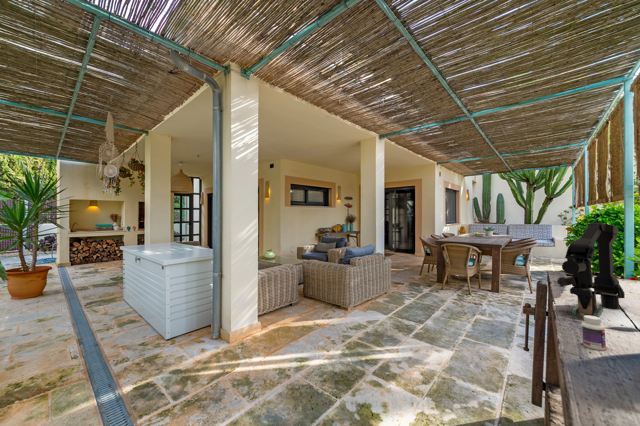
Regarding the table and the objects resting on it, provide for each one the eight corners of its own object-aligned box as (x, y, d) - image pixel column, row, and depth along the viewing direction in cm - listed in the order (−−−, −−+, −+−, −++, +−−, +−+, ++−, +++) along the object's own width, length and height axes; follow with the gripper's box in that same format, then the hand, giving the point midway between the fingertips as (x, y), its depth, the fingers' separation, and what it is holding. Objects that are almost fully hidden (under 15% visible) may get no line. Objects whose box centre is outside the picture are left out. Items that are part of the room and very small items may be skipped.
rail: (579, 308, 125) (578, 302, 126) (603, 312, 119) (603, 306, 119) (572, 316, 116) (572, 309, 116) (598, 321, 110) (597, 313, 110)
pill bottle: (609, 352, 84) (606, 321, 85) (585, 348, 87) (583, 318, 87) (602, 345, 89) (600, 316, 89) (580, 342, 91) (578, 313, 92)
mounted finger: (584, 307, 124) (583, 290, 124) (597, 309, 120) (595, 292, 121) (583, 309, 122) (582, 291, 122) (596, 311, 119) (594, 293, 119)
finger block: (580, 311, 117) (578, 292, 117) (592, 313, 114) (591, 294, 114) (578, 312, 115) (577, 294, 115) (591, 314, 112) (590, 295, 112)
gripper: (562, 267, 127) (565, 300, 126) (553, 272, 116) (555, 308, 115) (596, 270, 118) (598, 305, 118) (588, 275, 107) (592, 314, 106)
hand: (585, 308), depth 114 cm, fingers closed on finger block, 3 cm apart
